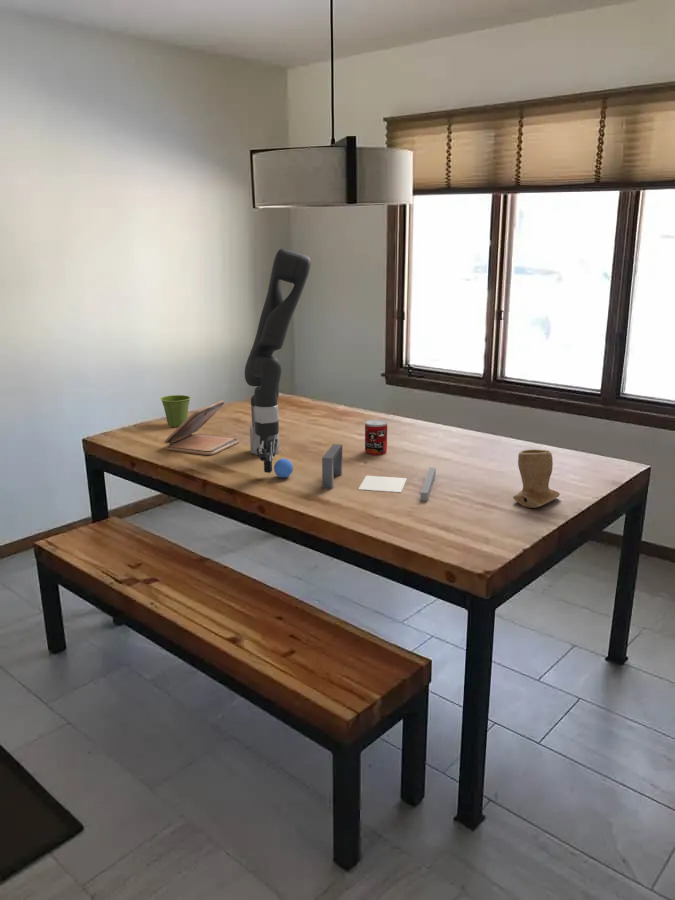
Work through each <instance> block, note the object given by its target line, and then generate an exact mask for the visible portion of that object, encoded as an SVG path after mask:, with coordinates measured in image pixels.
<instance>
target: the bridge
mask: <svg viewBox="0 0 675 900" xmlns="http://www.w3.org/2000/svg"><path fill="white" fill-rule="evenodd" d="M321 470H322V471H321V479H322V480H321V481H322V482H321V483H322V484H321V485H322V487H321V488H322V489H329V490H331V489H333V488H334V476H342V475H343V444H340V443H332V445H331V446H330V448H329V449H328V450H327V451H326V452H325V454H324V455H323V456H322V457H321Z"/></svg>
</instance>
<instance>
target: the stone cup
mask: <svg viewBox="0 0 675 900" xmlns="http://www.w3.org/2000/svg"><path fill="white" fill-rule="evenodd" d="M517 458H518V459H517V464H518V465H517V467H518V470H519V474H520V477H521V482H522V489H521V491H519V492H518V493H517V494H515V495H514V496H512V499H514V501H515V502H516V503H518V504H520V505H521V506H522V507H526V508H529V509H530V508H532V509H533V508H539V507H542V506H544V505H546V504H548V503H550V502H552V501H554V500H555V499H557V498H559V496H560V494H561V493H560V492H558V491H557V490H556V491H555V490H554V489H551V488H550V487H549V483H550V480H551V475H552V473H553V467H554V466H553V465H554V463H553V454H552V452H551V451H549V450H547V449H538V448H537V449H524V450H520V451H519V453H518V456H517Z"/></svg>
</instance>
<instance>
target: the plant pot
mask: <svg viewBox="0 0 675 900" xmlns="http://www.w3.org/2000/svg"><path fill="white" fill-rule="evenodd" d="M191 398H192V397H191V396H190V395H184V394H175V395H174V394H173V395H165V396H162V397H161V398H160V401H162V402H161V403H162V407H163V408H164V413H165V417H166V418H165V419H166V421H167V426H168V427H170V428H172V427H174V428H178V427H179V426H180V425H181V424H182V423H183V422H184V421H185V420H186V419H187V418H188V412H189V405H190V400H191Z"/></svg>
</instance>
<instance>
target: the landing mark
mask: <svg viewBox="0 0 675 900" xmlns="http://www.w3.org/2000/svg"><path fill="white" fill-rule="evenodd" d="M406 482H407V478H405V477H392V476H378V475H377V476H376V475H366V476H365V477H364V479H363V481H362V482H361V483H360V485H359V487H358V490H359V491H360V490H362V491H373V492H374V491H375V492H385V493H386V492H388V493H398V494H399V493H402V491H403V489H404V487H405V485H406Z"/></svg>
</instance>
